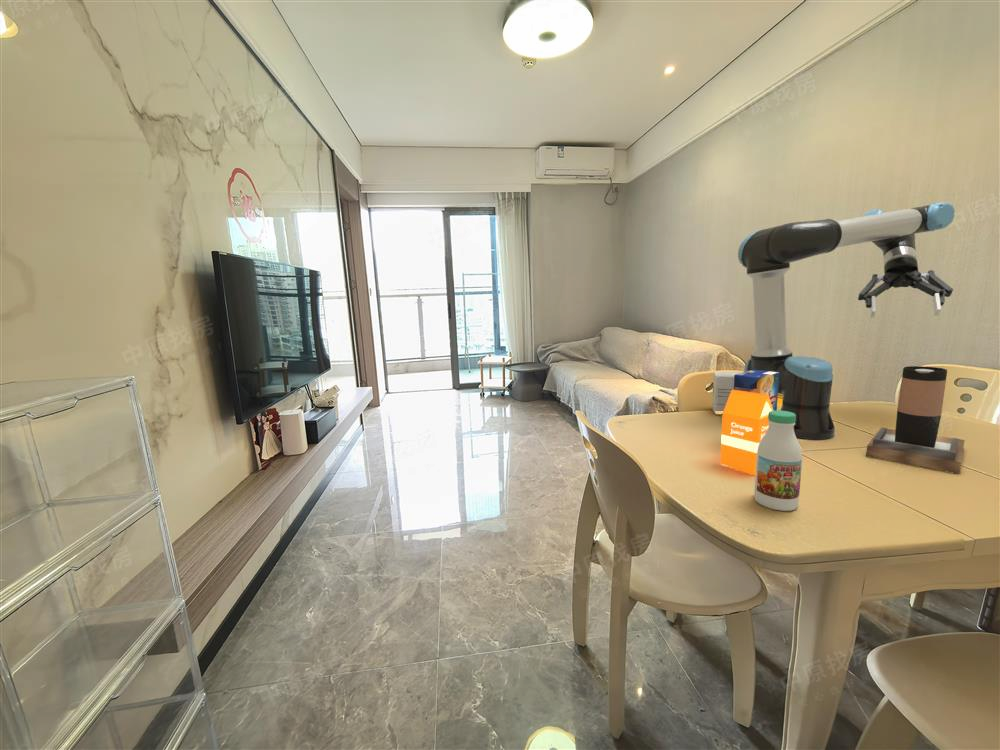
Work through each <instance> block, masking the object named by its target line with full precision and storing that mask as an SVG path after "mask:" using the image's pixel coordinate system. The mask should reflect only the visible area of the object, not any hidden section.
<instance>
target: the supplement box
mask: <svg viewBox="0 0 1000 750" xmlns="http://www.w3.org/2000/svg"><path fill="white" fill-rule="evenodd" d="M740 373H741V372H727V371H726V372H725V371H724V372H723V371H722V372H721V371H714V372H713V384H712V385H713V388H712V410H713V412H714V411H723V412H724V409H725V406H726V404H727V401H728V399H729V396H730V393H731V391H732V390H734V375H736V374H740Z"/></svg>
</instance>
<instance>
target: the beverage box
mask: <svg viewBox="0 0 1000 750" xmlns="http://www.w3.org/2000/svg"><path fill="white" fill-rule="evenodd" d="M739 373H740V374H736V375H734V390H739V391H746V392H753V393H760V394H766V395H768V396H769V399H770V402H771V405H772V408H773V411H775V410H778V399H779V393H778V385H779V373H780V372H771V371H761V370H750V371H747V372H744V371H743V372H739Z"/></svg>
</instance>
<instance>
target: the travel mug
mask: <svg viewBox="0 0 1000 750" xmlns="http://www.w3.org/2000/svg"><path fill="white" fill-rule="evenodd" d="M947 374H948V369H946V368H943V367H934V366H921V365H920V366H917V365H915V366H914V365H913V366H911V365H910V366H905V367H903V368H902V375H901V382H900V389H899V395H898V403H897V409H896V410H897V411H896V421H895V430H896V431H895V442H901V443H907V444H913V445H919V446H925V447H931V448H934V447H935V443H936V439H937V436H938V434H939V433H938V432H939V429H940V424H941V419H942V413H943V404H944V397H945V388H946V382H947Z"/></svg>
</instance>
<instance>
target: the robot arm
mask: <svg viewBox="0 0 1000 750" xmlns="http://www.w3.org/2000/svg"><path fill="white" fill-rule="evenodd" d="M955 211H956V210H955V208H954V206H953V204H951V203H950V202H945V201H943V202H937V203H936V202H935V203H930V204H927V205H922V206H917V207H912V208H911V207H910V208H905V209H899V210H894V211H888V212H886V211H883V210H881V209H877V208H876V209H872V210H870V211H867V212H866V213H864V214H863V215H862V216H859V217H853V218H847V219H841V220H836V219H834V218H827V219H826V218H825V219H819V220H807V221H795V222H789V223H785V224H781V225H778V226H773V227H768V228H764V229H763V228H762V229H760V230H758V231H755V232H752V233H751V234H749V235H748V236H746V237H745V238H744V239H743V241H742V242H741V244H740V245H739V248H738V250H737V251H738V252H737V258H738V262H739V263H740V264H741V265H742V267H744V268H746V275H747V276H748V277H749V278H751V279H752V293H753V294H752V296H753V315H754V316H753V317H754V335H755V337H754V338H755V339H754V340H755V349H754V350H753V351H752V352H751V353H750V357H749V359H748V360H747V362H746V363H745V364H744V369H743V370H744V371H743V372H747V371H750V370H761V371H771V372H780V373H779V385H778V394H780V395H782V401H781V402H782V404H781V408H780V411H788V412H792V413H794V414H795V415H796V421H795V425H794V433H795V436H796V438H797V439H798V438H800V439H808V440H828V439H832V438H834V437H835V432H836V431H835V425H834V421H833V418H832V416H831V413H830V404H831V396H832V395H831V394H832V386H833V379H834V373H833V372H834V371H833V369H834V368H833V365H832V364H831V362H829V361H828V360H825V359H821V358H819V357H812V356H804V355H803V356H802V355H794V356H793V350H791V349H790V348H789V347H788V346H787V325H786V324H787V323H786V322H787V319H786V318H787V317H786V291H785V289H786V288H785V274H786V273H787V272H788V271H789V270H790V269H791V264H790V263H795V262H797V261H802V260H804V259H808V258H811V257H814V256H815V257H816V256H819V255H823V254H827V253H831V252H833V251H834V250H836V249H837V248H841V247H848V246H852V245H853V246H854V245H858V244H863V243H864V244H865V243H870V242H872V243H873V244H874V245H875V246H876V247H878V249H880V250H881V251H882V255H883V270H884V271H883V272H884V273H883V274H884V275H878V274H877V273H875V274H872V277H871V279H870V280H869V282H868V283H867V284H866V285H865V287H863V289H862V290H861V291H860V292H859V293H858V298H857V300H858V301H862V300H863V301H864V303H865V307H866V308H867V309H870V318H875V315H876V311H877V309H876V308H877V307H876V297H878V296H880V295H881V294H882V293H884V292H886V291H888V290H889V289H891V288H894V289H897V288H909V287H911V288H913V289H917V290H919V291H921V292H923V293H925V294H926V295H929V296H931V297H932V307H933V314H934V317H937V316H939V315H940V313H941V311H942V307H943V306H944V304H945V302H946V300H945V299H946V298H949V297H951V296H952V293H953V291H954V288H952V287H951V286H950V285H949V284H948V283H946V282H945V281H944V280H942V279H941V278H940V277H938V276H937V275H936V274H935V271H934V270H932V269H930V270H928V271H927V272H923V273H921V272H920V271H919V265H918V256H917V249H916V235H917V234H921V233H928V232H935V231H939V230H942V229H943V230H944V229H945V228H947V227H948V226H949V225H951V224H952V222H953V221H954V219H955ZM881 281H882V282H883V283H881V284H879V285H878V286H877V287H876V284H878V283H880V282H881ZM874 287H875V288H874ZM873 288H874V289H873ZM945 297H946V298H945Z"/></svg>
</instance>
